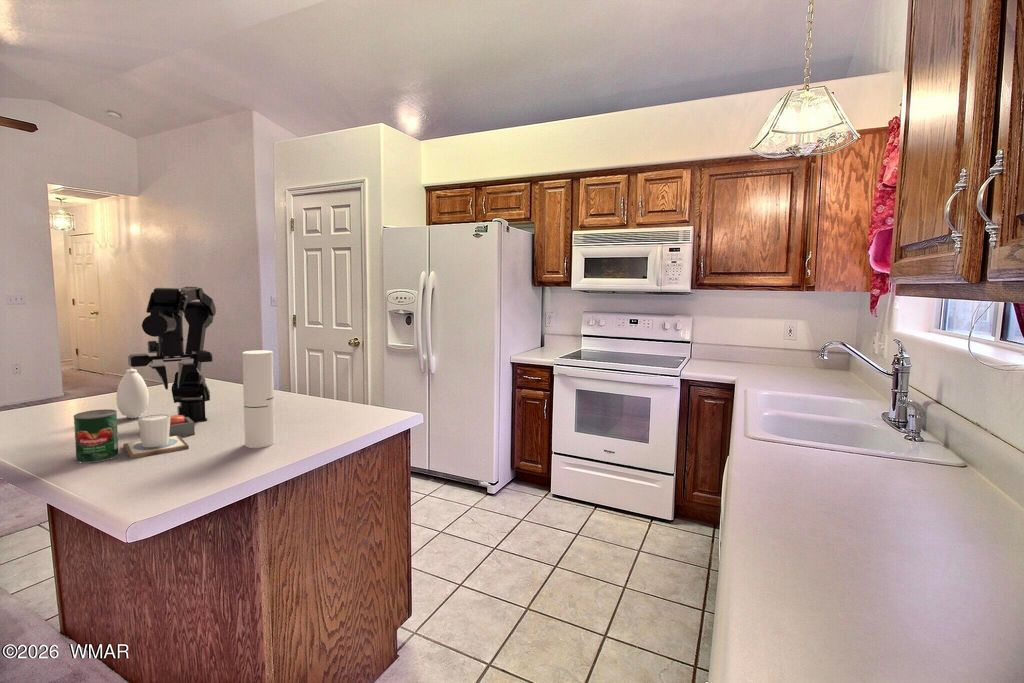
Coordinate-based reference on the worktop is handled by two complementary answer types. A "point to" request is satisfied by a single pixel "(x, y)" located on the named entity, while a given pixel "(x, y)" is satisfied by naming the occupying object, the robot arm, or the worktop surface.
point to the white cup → (154, 430)
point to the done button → (177, 419)
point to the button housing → (182, 428)
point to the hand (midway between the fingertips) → (172, 388)
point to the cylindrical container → (258, 398)
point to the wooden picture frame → (138, 450)
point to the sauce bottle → (132, 394)
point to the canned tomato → (96, 435)
